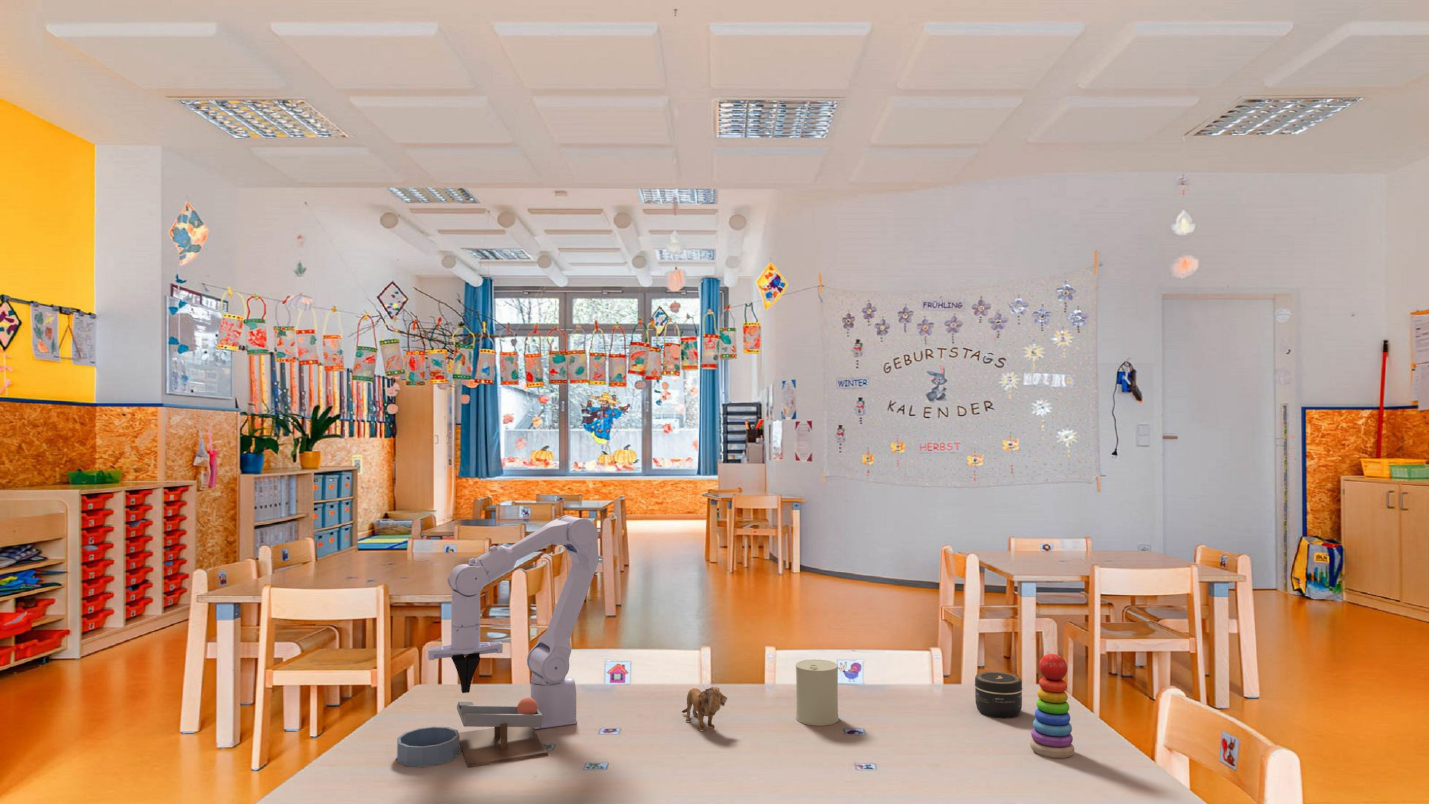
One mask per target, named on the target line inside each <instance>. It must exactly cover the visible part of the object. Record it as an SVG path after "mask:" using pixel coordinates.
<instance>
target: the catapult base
mask: <svg viewBox="0 0 1429 804" xmlns="http://www.w3.org/2000/svg"><path fill="white" fill-rule="evenodd" d="M458 733H459V749H460V750H461V753H462V755H463V760H464V761H465V764H466V767H467V768H472V767H479V766H486V765H491V764H493V765H494V764H498V763H505V762H506V763H507V762H511V761H512V762H513V761H517V760H527V759H531V758H532V759H533V758H539V757H545V756H549V751H548V750H547V748H546V746H545V745H544V743H543V742H542V740H541V738H540V737H539V735H538V734H537V732H536V731H535V729H533V727H507V723H505V724H501V727H491V728H490V727H489V728H485V729H484V728H483V729H477V730H476V729H475V730H469V731H468V730H467V731H463V732H461V731H460V732H458Z"/></svg>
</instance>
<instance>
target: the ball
mask: <svg viewBox="0 0 1429 804" xmlns="http://www.w3.org/2000/svg"><path fill="white" fill-rule="evenodd" d="M516 706H517V711H518V714H536V712H537V708H538V706H537V703H536V701H535V700H534V699H532V698H531V697H523V698H522V699H521V700H520V701H519V702H518V704H517V705H516Z"/></svg>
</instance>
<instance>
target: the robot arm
mask: <svg viewBox="0 0 1429 804" xmlns="http://www.w3.org/2000/svg"><path fill="white" fill-rule="evenodd" d="M599 536H600V533H599V531H598V530H597V528H596V526H595V525H594V523H593V522H592V521H591V520H590V519H588V518H584V517H582V518H580V517H577V516H573V515H570V514H566V515H563V516H561V517H559V518H558V519H554V520H553V519H552V520H551V521H549V522H547V524H545V525H544V526H542V527H540V528H539V529H537V530H535V531H533V532H532V533H530V534H529V535H527V536H525V537H523V538H522V539H521V540H519V541H517V542H515V543H513V544H512V545H510V546H506V545H498V546H497V545H492V546H490V547H489V548H488V549H489V551H487V552H485V553H484V554H482V555H479V556H478V557H476V558H474V557H471V558H470V559H468V564H467V563H462V564H458V565H456V566H454V567H453V569H452V570H451V572H450V573H449V577H448V578H447V584H448V586H449V588H450V589H451V605H450V606H451V607H450V609H451V612H450V613H451V614H450V615H451V616H450V619H451V621H450V624H451V625H450V628H451V630H450V632H451V634H450V635H451V636H450V638H451V639H450V642H451V644H449V645H443V646H439V647H430V648H427V651H428V652H427V658H428V661H434V660H437V659H448V658H451V660H452V662H453V665H454V667H455V669H456V672H457V675H458V678H459V683H460V687H461V688H460V689H461V693H462V694H467V693H470V690H471V684H472V682H473V681H472V680H473V678H474V676H475V673H476V670H477V668H478V666H479V664H480V662H481V656H480V655H486V654H487V655H488V654H503V653H504V652H503V647H504V646H503V643H502V641H483V642H482V641H481V592H482V590H483V589H484V587H485V585H488V584H489V583H491V582H493V581H495V580H497V579H498V578H500V577H502V576H503V575H505V574H507V573H509V572H511V571H513V570H514V568H515V566H516V564H517V562H518V561H519V560H521V559H523V558H525V557H527V556H529V555H531V554H533V553H535V552H537V551H539V550H542V549H543V548H546V547H547V546H549V545H560V546H561V545H562V546H563V548H565V549H566V551H567V553H568V554H569V557H570V559H571V561H572V564H571V565H570V568H569V570H568V571H569V572H568V574H567V576H566V579H565V581H564V584H563V586H562V588H561V592H560V595H559V597H558V600H557V603H556V605H555V608H554V610H553V613H552V615H551V618H550V620H549V624H548V625H547V629H546V631H545V632H543V634H541V635H540V636H539V637H538V640H537V642H536V644H535V645H534V646H533V647H532V648H531V649H530V651H529V652H528V654H527V657H526V665H527V667H528V670H529V671H531V672H532V673H531V677H530V698H532V699H534V700H535V701H536V703H537V706H538V709H539V711H540V712H541V714H542V715H543V717H542V724H541V727H533V729H534V730H538V729H539V730H540V729H545V728H546V729H547V728H552V727H561V726H567V725H568V726H570V725H574V724H575V725H576V724H578V721H577V687H576V686H577V685H576V681H575V679H574V678H573V677H566V676H567V675H568V673H569V669H570V657H571V654H572V646H571V638H572V637H571V636H572V634H573V631H574V628H575V626H576V624H577V621H578V618H579V615H580V613H581V611H582V608H583V605H584V603H585V599H586V598H587V594H588V591H589V590H590V587H591V583H592V581H593V579H594V576H595V573H596V570H597V568H598V565H599V563H600V562H599V561H600V559H599V558H600V555H599V546H598V540H599Z"/></svg>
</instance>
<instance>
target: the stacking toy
mask: <svg viewBox="0 0 1429 804" xmlns="http://www.w3.org/2000/svg"><path fill="white" fill-rule="evenodd" d="M1039 671H1040V673H1041V675H1042V676H1043V677H1041V678H1040V679H1039V681H1038V684H1039V687H1040V688H1039V689H1038V690H1037V691H1036V692H1037V693H1036V695H1037V696H1038V699H1036V707H1037V708H1036V709H1035V711H1034V717H1035V719H1034V720H1033V722H1032V727H1033V728H1032V729H1031V733H1030V736H1031V738H1032V739H1031V740H1030V743H1029V746H1030V748H1031V750H1032V751H1033V752H1034V753H1036V754H1038V755H1041V756H1043V757H1047V758H1051V759H1065V758H1069V757H1071V756H1073V754H1074V753H1075V747H1074V745H1073V740H1074V738H1073V735H1072V732H1073V726H1072V723H1070V722H1071V715H1070V713H1069V712H1070V704H1069V702H1068V699H1069V696H1068V695H1069V694H1068V693H1067V692H1066V690H1067V689H1068V684H1067V682H1066V681H1065V679H1064V677H1065V676H1066V675H1067V672H1068V664H1067V662H1066V660H1065V659H1064V658H1063V657H1062V656H1060V655H1058V654H1056V653H1047V654H1045V655H1044V656H1042V658H1040V660H1039Z"/></svg>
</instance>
